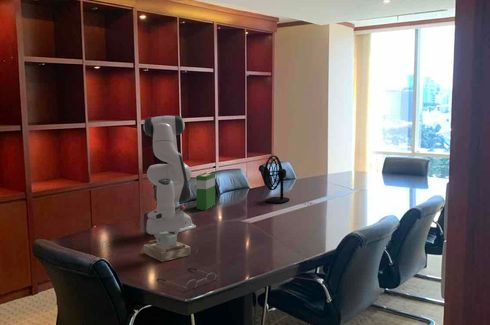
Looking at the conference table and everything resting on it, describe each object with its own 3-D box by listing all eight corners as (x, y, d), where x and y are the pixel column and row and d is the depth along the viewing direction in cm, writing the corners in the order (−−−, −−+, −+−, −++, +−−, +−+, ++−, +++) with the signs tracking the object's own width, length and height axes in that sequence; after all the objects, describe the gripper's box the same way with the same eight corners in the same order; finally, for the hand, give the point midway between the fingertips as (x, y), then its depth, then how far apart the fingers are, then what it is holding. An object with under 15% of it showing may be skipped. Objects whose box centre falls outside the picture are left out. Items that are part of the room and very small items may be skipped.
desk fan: (273, 197, 379) (274, 153, 375) (294, 199, 371) (294, 154, 367) (258, 203, 356) (258, 156, 352) (279, 205, 347) (279, 158, 343)
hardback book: (205, 204, 351) (205, 172, 348) (215, 205, 349) (214, 172, 346) (196, 209, 334) (196, 176, 331) (206, 210, 332) (206, 176, 329)
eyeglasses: (185, 292, 187) (185, 283, 186) (156, 282, 199) (155, 273, 199) (218, 280, 200) (217, 271, 200) (188, 271, 213) (187, 262, 212)
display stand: (171, 246, 246) (171, 236, 246) (190, 254, 233) (190, 243, 232) (143, 252, 236) (143, 242, 235) (162, 261, 223) (162, 250, 222)
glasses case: (165, 242, 240) (164, 230, 239) (176, 247, 231) (176, 235, 230) (157, 243, 237) (156, 232, 237) (168, 249, 228) (168, 237, 227)
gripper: (180, 208, 241) (181, 234, 243) (144, 214, 228) (145, 242, 230) (187, 210, 236) (187, 237, 238) (151, 216, 223) (151, 245, 225)
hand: (166, 239), depth 234 cm, fingers open, 8 cm apart
